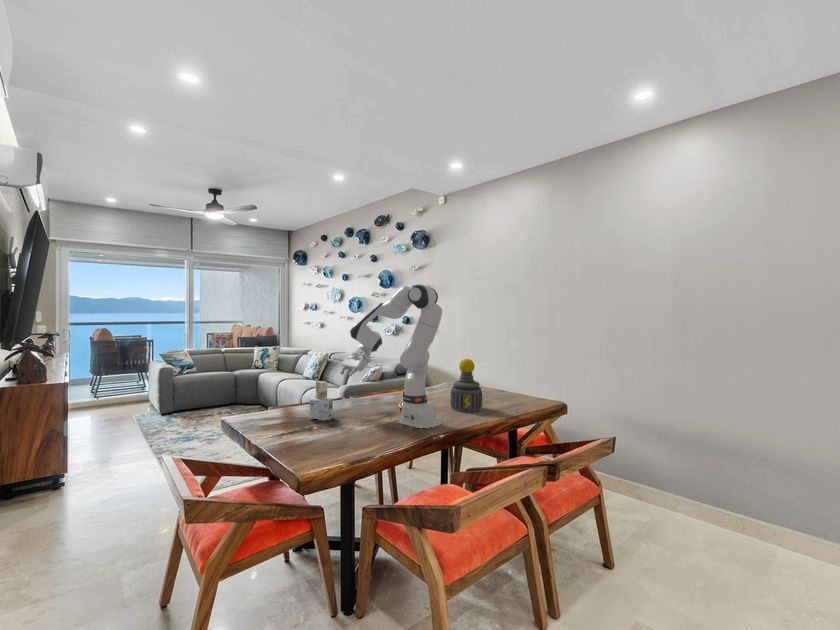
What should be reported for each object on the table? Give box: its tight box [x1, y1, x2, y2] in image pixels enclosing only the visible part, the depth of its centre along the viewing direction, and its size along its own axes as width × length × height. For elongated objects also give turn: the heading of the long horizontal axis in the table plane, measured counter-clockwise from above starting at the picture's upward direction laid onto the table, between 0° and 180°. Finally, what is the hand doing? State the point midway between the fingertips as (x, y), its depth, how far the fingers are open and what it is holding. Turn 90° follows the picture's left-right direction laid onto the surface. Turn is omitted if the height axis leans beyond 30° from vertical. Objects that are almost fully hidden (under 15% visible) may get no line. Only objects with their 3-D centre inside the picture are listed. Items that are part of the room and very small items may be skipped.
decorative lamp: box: [449, 358, 484, 413], centre depth 251 cm, size 19×19×30 cm
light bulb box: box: [309, 397, 334, 421], centre depth 224 cm, size 11×7×11 cm, turn 83°
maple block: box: [315, 380, 328, 400], centre depth 223 cm, size 5×4×9 cm
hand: (345, 374), depth 231 cm, fingers open, 8 cm apart
